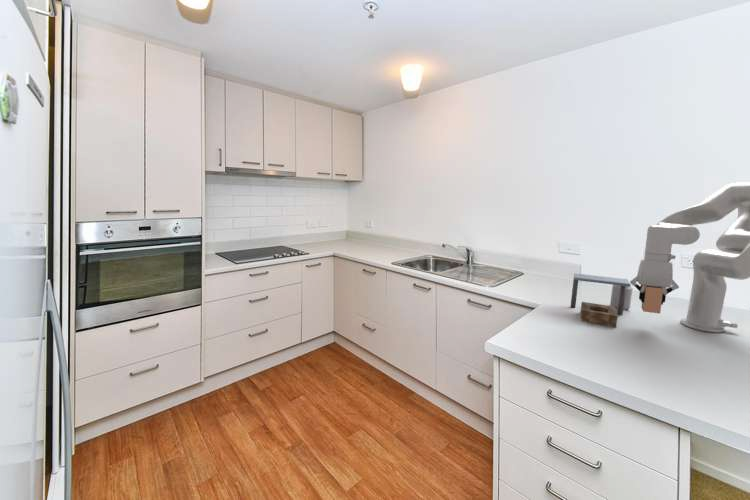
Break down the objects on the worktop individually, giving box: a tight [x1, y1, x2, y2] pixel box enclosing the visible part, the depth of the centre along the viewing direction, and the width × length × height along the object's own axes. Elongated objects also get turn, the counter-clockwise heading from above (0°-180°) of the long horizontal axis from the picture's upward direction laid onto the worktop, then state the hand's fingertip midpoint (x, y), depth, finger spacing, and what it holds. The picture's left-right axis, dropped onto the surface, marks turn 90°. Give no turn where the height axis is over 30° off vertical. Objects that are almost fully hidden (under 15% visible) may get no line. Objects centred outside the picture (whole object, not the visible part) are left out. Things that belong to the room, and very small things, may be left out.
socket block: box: [580, 301, 619, 328], centre depth 139 cm, size 12×13×5 cm
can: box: [609, 283, 634, 311], centre depth 153 cm, size 8×8×12 cm
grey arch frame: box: [569, 272, 631, 316], centre depth 145 cm, size 20×9×16 cm, turn 59°
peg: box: [641, 286, 663, 315], centre depth 127 cm, size 5×5×10 cm
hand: (651, 302), depth 128 cm, fingers closed on peg, 4 cm apart
